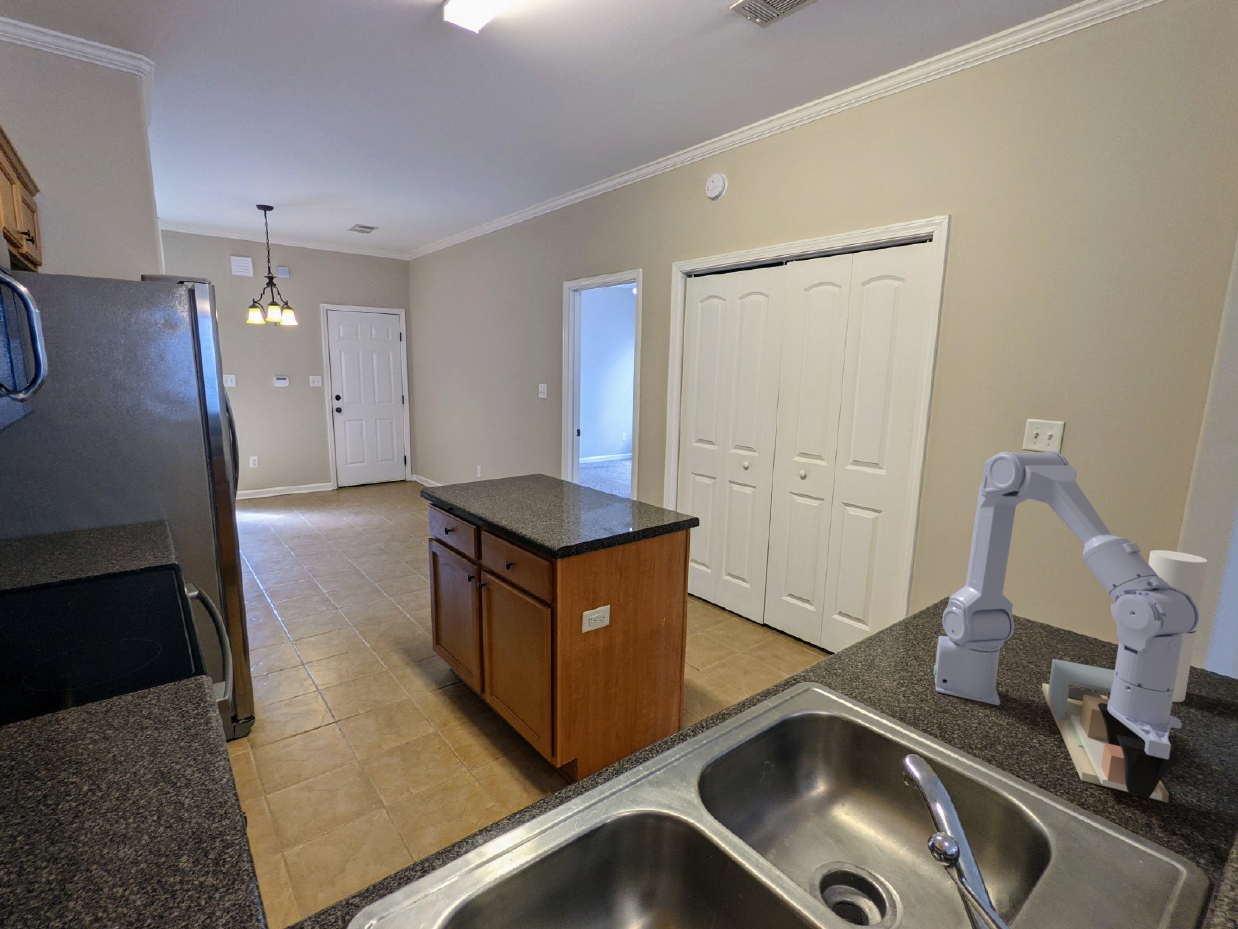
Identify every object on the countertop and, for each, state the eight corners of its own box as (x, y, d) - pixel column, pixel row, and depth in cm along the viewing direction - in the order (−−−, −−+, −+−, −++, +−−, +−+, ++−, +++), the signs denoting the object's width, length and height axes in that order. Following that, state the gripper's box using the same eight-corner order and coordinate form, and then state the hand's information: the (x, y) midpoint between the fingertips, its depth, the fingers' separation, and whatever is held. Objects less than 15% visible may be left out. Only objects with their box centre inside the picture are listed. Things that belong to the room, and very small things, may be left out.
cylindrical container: (1196, 702, 99) (1220, 562, 96) (1155, 701, 99) (1176, 561, 96) (1158, 681, 106) (1179, 550, 103) (1119, 680, 106) (1139, 549, 103)
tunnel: (1057, 725, 92) (1063, 679, 91) (1047, 701, 99) (1052, 658, 98) (1130, 742, 88) (1137, 694, 87) (1113, 715, 95) (1120, 671, 94)
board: (1081, 780, 79) (1082, 771, 79) (1041, 689, 103) (1042, 682, 102) (1167, 802, 75) (1169, 792, 75) (1105, 702, 99) (1106, 695, 98)
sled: (1101, 785, 76) (1107, 747, 75) (1070, 719, 91) (1074, 688, 90) (1161, 800, 73) (1167, 762, 72) (1118, 730, 88) (1123, 698, 87)
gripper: (1211, 717, 65) (1193, 824, 67) (1162, 663, 78) (1148, 755, 80) (1132, 700, 69) (1116, 804, 70) (1097, 651, 81) (1084, 740, 83)
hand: (1128, 777), depth 76 cm, fingers open, 6 cm apart
